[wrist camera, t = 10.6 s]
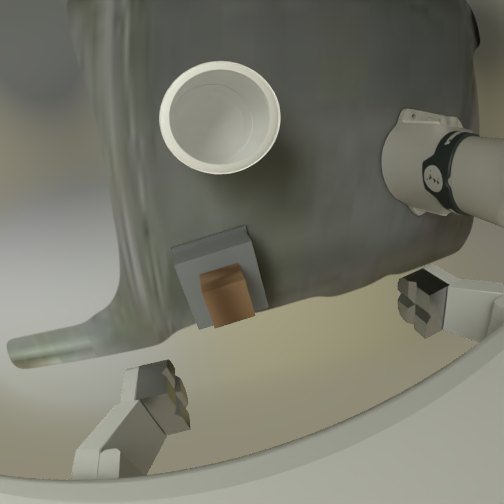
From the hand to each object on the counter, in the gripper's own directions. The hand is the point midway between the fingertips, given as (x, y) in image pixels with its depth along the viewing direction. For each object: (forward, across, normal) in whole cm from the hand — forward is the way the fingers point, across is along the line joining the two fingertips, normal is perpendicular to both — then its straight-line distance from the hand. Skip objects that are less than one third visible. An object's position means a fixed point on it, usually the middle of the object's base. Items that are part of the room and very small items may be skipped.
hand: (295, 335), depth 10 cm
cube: (+28, +2, +12) cm, 30 cm away
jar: (+34, -2, -8) cm, 35 cm away
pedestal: (+34, +2, +12) cm, 36 cm away
